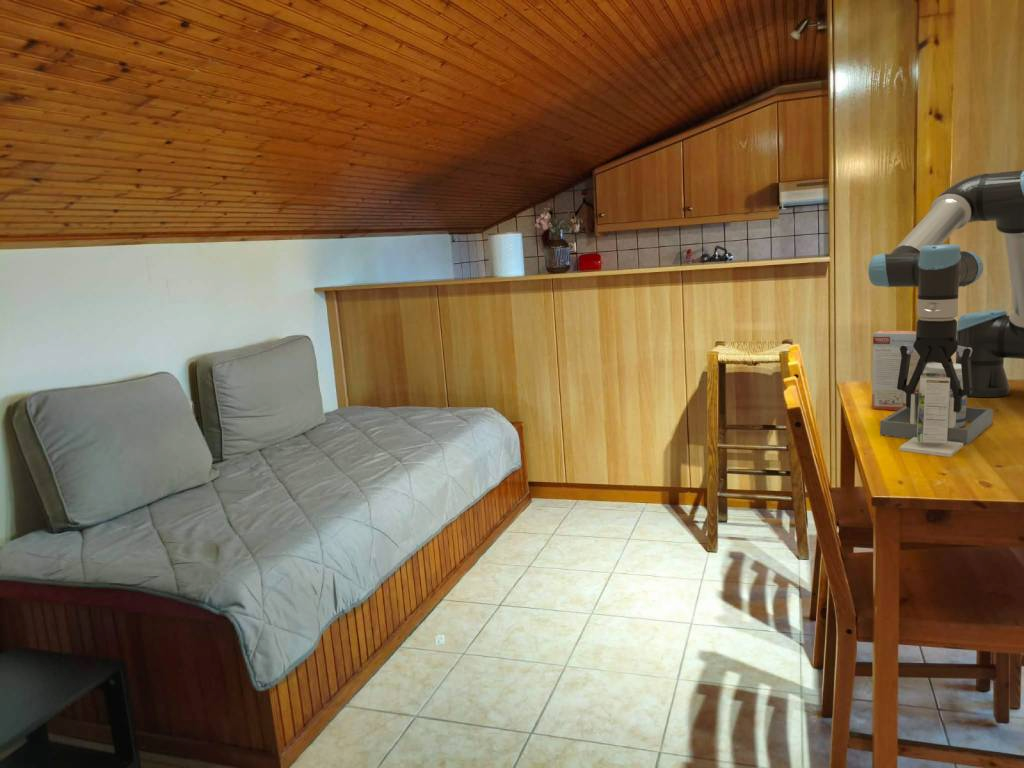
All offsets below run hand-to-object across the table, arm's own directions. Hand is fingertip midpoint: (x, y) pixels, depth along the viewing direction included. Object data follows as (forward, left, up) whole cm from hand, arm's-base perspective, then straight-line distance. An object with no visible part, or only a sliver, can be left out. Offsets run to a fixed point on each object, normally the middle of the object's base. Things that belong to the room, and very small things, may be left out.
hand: (932, 424), depth 166 cm
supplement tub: (-23, -4, -6) cm, 24 cm away
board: (0, 0, -5) cm, 5 cm away
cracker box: (-36, -17, -6) cm, 40 cm away
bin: (-18, -4, -5) cm, 19 cm away
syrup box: (0, 0, -4) cm, 4 cm away
